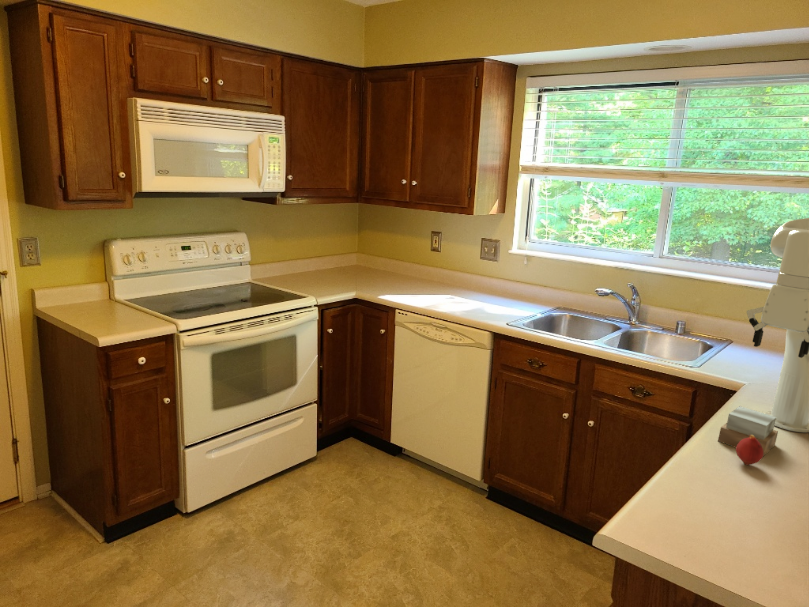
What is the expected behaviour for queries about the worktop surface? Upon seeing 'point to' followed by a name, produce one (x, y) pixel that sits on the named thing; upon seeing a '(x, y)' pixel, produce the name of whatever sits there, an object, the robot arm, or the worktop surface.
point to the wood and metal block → (749, 428)
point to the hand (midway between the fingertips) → (778, 351)
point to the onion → (749, 450)
